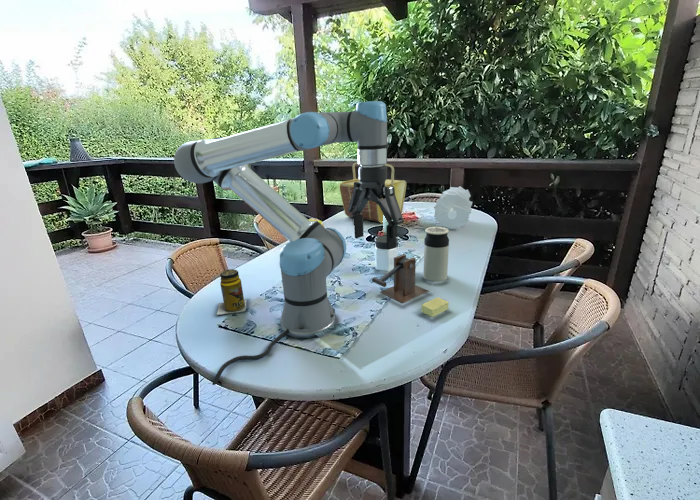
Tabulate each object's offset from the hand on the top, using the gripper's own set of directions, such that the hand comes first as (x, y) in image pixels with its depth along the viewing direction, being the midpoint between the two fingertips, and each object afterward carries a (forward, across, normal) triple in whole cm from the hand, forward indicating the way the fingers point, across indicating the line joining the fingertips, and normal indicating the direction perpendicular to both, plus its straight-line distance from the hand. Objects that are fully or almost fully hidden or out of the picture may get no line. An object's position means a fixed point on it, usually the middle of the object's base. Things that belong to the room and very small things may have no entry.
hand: (374, 242), depth 102 cm
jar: (+21, +19, -22) cm, 36 cm away
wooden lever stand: (+21, 0, -12) cm, 24 cm away
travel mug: (+21, +1, -28) cm, 35 cm away
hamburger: (+21, +63, -18) cm, 69 cm away
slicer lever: (+12, 0, -7) cm, 14 cm away
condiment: (+21, +30, +33) cm, 49 cm away
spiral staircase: (+21, +39, -87) cm, 98 cm away
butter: (+21, -14, -10) cm, 27 cm away
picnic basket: (+21, +79, -68) cm, 106 cm away
